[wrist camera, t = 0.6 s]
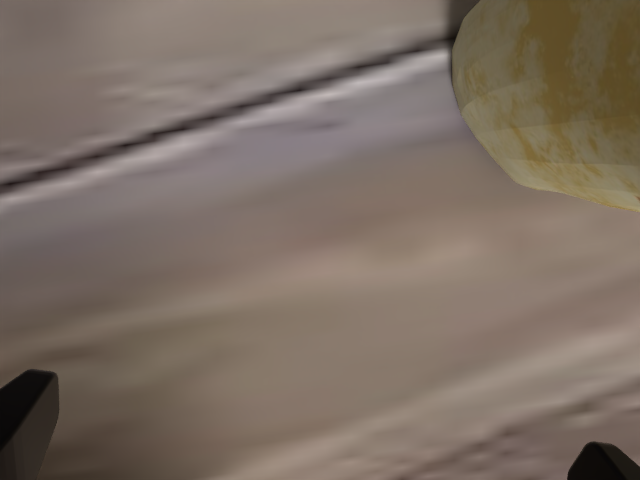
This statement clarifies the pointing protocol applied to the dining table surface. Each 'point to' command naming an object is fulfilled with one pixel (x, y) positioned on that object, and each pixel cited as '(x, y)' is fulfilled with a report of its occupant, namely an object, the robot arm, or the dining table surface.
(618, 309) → the dining table surface
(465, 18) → the food model
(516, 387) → the dining table surface
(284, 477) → the dining table surface
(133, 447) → the dining table surface
